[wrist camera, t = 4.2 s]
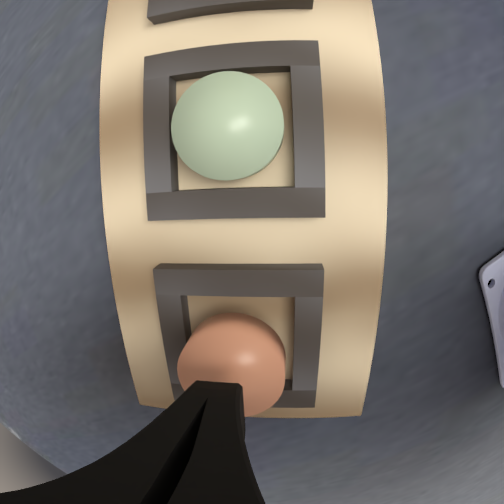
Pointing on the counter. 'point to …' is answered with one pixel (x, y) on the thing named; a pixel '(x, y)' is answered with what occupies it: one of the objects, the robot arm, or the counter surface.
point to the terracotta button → (236, 358)
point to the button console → (248, 192)
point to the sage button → (227, 126)
